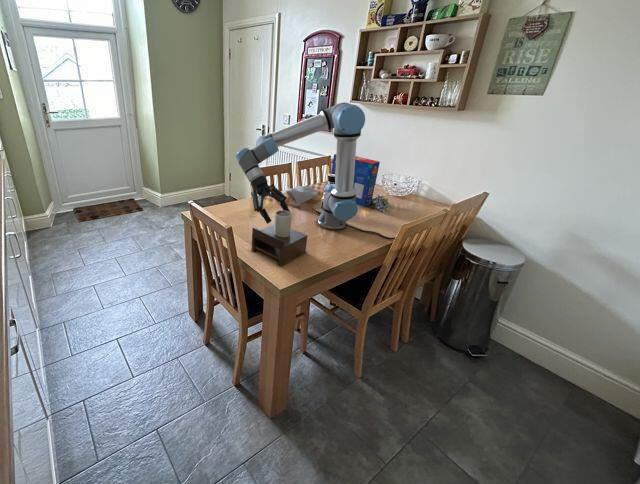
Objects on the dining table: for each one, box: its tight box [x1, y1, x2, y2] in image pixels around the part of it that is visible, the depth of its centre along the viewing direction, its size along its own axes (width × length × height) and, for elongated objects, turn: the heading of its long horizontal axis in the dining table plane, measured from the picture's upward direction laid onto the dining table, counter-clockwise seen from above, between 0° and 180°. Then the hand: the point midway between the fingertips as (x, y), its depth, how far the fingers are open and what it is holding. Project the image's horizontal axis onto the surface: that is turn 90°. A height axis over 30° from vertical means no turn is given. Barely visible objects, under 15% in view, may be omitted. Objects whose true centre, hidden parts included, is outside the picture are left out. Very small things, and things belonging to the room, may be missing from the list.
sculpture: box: [281, 185, 322, 208], centre depth 213 cm, size 25×19×10 cm
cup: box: [273, 209, 293, 237], centre depth 149 cm, size 8×8×10 cm
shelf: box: [251, 223, 308, 267], centre depth 151 cm, size 18×18×12 cm
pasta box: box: [330, 153, 381, 208], centre depth 213 cm, size 28×8×28 cm, turn 39°
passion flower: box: [370, 193, 390, 213], centre depth 201 cm, size 11×11×12 cm
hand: (279, 218), depth 149 cm, fingers open, 13 cm apart
